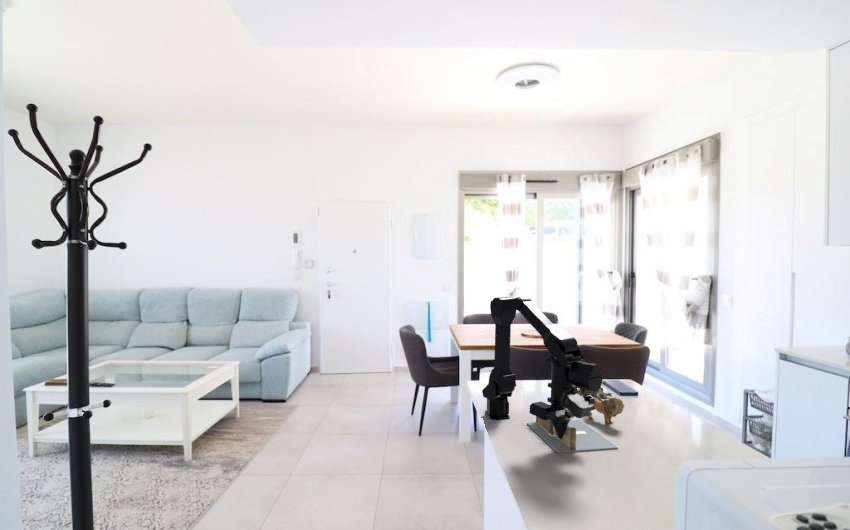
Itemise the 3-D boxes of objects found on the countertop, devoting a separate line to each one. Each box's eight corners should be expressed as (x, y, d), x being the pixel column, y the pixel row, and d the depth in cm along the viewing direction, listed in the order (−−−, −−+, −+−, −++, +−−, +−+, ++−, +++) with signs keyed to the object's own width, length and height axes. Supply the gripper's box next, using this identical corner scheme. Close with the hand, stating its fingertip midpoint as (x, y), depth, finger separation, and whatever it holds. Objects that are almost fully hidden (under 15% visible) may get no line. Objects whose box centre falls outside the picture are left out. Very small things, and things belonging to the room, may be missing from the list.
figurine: (623, 391, 138) (578, 392, 137) (622, 407, 138) (577, 408, 137) (595, 372, 158) (555, 373, 157) (594, 386, 158) (555, 387, 157)
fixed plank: (551, 436, 111) (551, 416, 111) (535, 422, 122) (535, 403, 122) (555, 436, 111) (556, 415, 111) (539, 421, 122) (539, 402, 122)
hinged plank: (552, 435, 111) (552, 416, 111) (556, 435, 111) (556, 416, 111) (572, 450, 102) (572, 429, 102) (576, 449, 102) (577, 429, 102)
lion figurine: (627, 426, 119) (627, 397, 119) (618, 430, 116) (618, 401, 116) (584, 411, 131) (584, 385, 131) (575, 415, 128) (575, 388, 128)
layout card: (557, 453, 101) (557, 451, 101) (526, 423, 120) (526, 422, 120) (618, 448, 104) (618, 447, 104) (578, 420, 123) (578, 419, 123)
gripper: (561, 394, 93) (559, 458, 93) (610, 385, 102) (608, 444, 102) (528, 381, 103) (527, 439, 103) (576, 375, 112) (574, 428, 112)
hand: (560, 438), depth 104 cm, fingers closed
